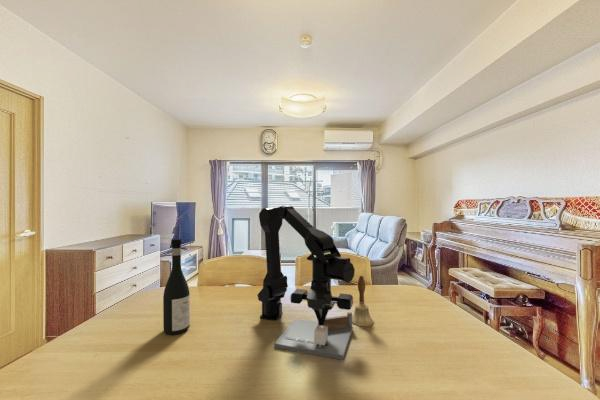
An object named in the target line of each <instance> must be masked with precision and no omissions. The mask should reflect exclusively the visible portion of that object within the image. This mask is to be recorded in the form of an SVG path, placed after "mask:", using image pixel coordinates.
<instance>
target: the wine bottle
mask: <svg viewBox="0 0 600 400" xmlns="http://www.w3.org/2000/svg"><path fill="white" fill-rule="evenodd" d="M170 242H171V243H170V244H171V270H170V273H169V275H168V278H167V281H166V283H165V287H164V289H163V290H164V292H163V297H162V299H163V301H162V302H163V303H162V305H163V310H162V311H163V318H162V319H163V332H165V333H166V334H168V335H178V334H182V333H184V332H186V331H188V329H189V327H190V326H191V312H190V311H191V307H190V306H191V303H190V302H191V301H190V299H191V297H190V295H191V293H190V288H189V285H188V284H189V283H188V282H187V280H186V277H185V276H184V275H185V274H184V273H183V270H182V269H183V268H182V259H181V255H182V249H181V248H182V239H181V238H172V239H171V241H170Z"/></svg>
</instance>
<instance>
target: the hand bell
mask: <svg viewBox="0 0 600 400" xmlns="http://www.w3.org/2000/svg"><path fill="white" fill-rule="evenodd" d="M357 289H358V292H359V293H358V294H359V299H358V300H359V303H356V304H355V306H354V307H355V309H354V313H352V325H355V326H358V327H371V326H372V325H374V323H375V321H374V318H373V317H371V315H370V311H369V306H368V305H367V304H366V303H365V291H366V280H365V279H364V275H359V277H358V281H357Z"/></svg>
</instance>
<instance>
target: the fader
mask: <svg viewBox="0 0 600 400" xmlns="http://www.w3.org/2000/svg"><path fill="white" fill-rule="evenodd" d="M327 339H328V326H321V325H318V326H317V327H316V329H315V330H314V344H319V345H325V343H326V341H327Z"/></svg>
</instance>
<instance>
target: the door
mask: <svg viewBox="0 0 600 400" xmlns="http://www.w3.org/2000/svg"><path fill="white" fill-rule="evenodd" d="M317 322H318V321H317ZM318 325H319V322H318ZM323 326H328V330H331V329H338V328H345V327H348V316H347V315H341V316H334V317H326V319H325V322H324V325H323Z"/></svg>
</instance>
